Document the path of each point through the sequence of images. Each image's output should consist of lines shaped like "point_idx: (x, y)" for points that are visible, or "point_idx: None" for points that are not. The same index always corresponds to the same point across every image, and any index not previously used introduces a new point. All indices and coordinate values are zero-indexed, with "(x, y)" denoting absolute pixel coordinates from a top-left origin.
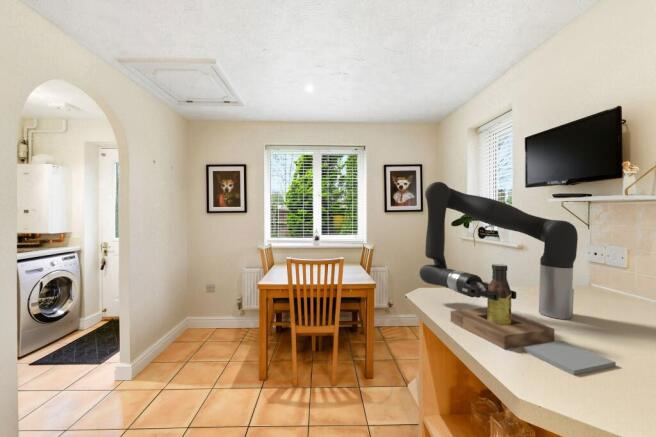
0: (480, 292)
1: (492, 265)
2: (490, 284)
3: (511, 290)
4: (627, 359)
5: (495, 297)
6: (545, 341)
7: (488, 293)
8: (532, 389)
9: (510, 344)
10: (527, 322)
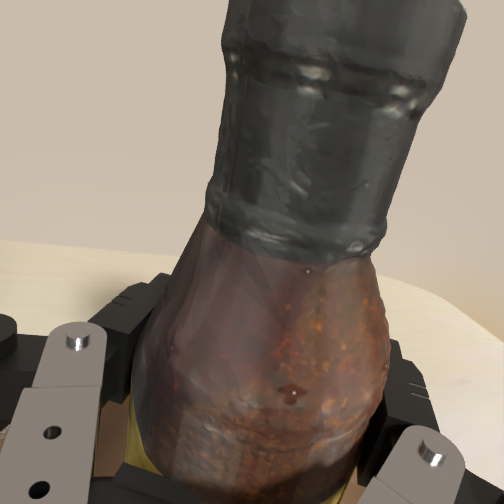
0: (491, 498)
1: (459, 22)
2: (387, 336)
3: (145, 289)
4: (116, 267)
5: None
6: None
7: (429, 406)
8: (484, 358)
9: None
10: (115, 405)
